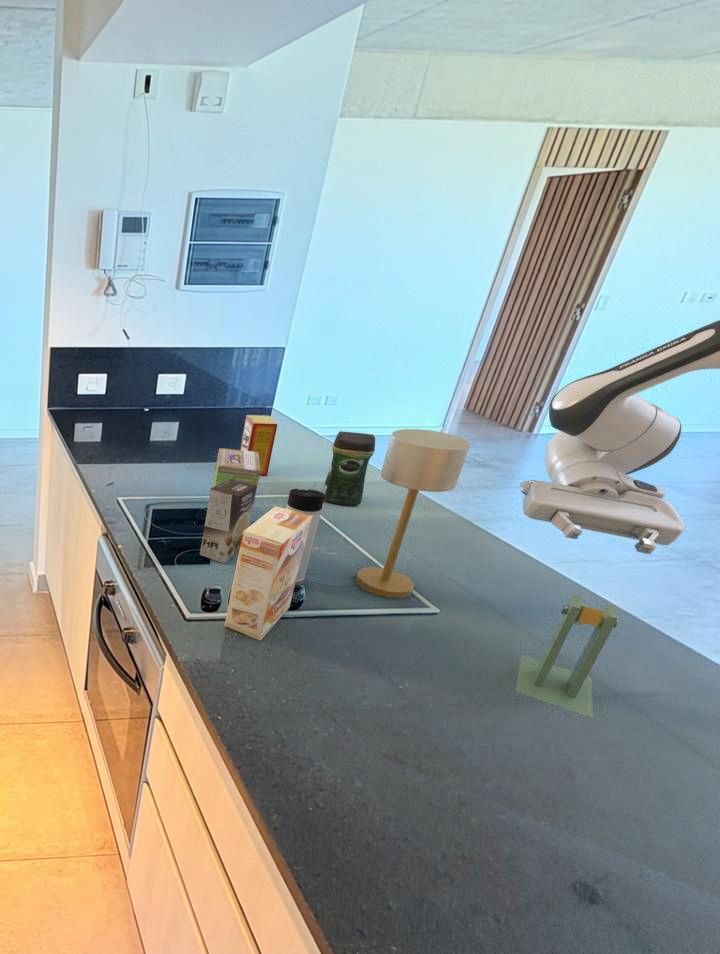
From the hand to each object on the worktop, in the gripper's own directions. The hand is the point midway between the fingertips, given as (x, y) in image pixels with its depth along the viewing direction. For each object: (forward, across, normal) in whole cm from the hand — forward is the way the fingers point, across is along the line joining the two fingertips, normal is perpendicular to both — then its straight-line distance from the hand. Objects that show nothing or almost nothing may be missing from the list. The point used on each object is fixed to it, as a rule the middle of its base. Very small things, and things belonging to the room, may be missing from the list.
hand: (609, 542), depth 97 cm
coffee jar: (-49, -29, +38) cm, 69 cm away
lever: (+13, -3, +7) cm, 15 cm away
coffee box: (-6, -55, +28) cm, 62 cm away
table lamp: (-5, -24, +25) cm, 35 cm away
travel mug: (0, -42, +25) cm, 49 cm away
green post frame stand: (+19, -3, +16) cm, 25 cm away
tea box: (-30, -56, +34) cm, 72 cm away
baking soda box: (-64, -52, +44) cm, 93 cm away
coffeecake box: (+16, -46, +21) cm, 53 cm away
